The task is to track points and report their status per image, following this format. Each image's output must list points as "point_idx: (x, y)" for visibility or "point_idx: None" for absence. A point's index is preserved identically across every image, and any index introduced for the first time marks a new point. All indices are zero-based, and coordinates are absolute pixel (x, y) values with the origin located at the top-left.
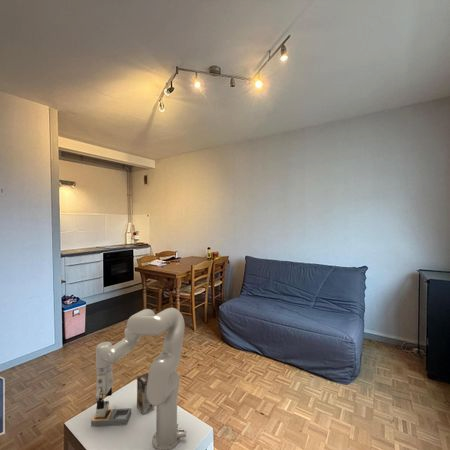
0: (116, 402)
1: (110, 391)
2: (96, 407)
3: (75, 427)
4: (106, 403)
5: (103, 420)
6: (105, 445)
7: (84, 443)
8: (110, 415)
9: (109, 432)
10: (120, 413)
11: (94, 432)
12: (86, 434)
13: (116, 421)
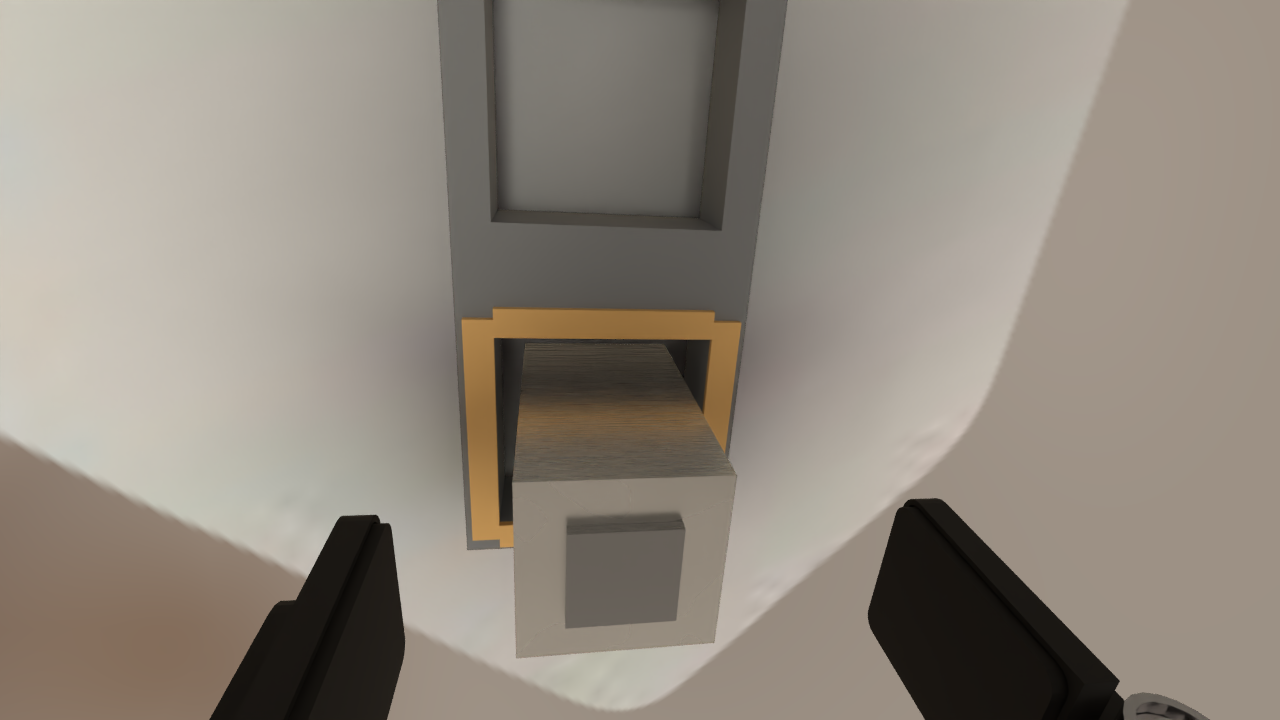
0: (161, 329)
1: (346, 638)
2: (710, 635)
3: (684, 645)
4: (608, 498)
5: (734, 376)
6: (1062, 186)
7: (944, 452)
8: (628, 303)
9: (856, 209)
10: (494, 146)
11: (807, 413)
12: (817, 489)
13: (760, 145)
